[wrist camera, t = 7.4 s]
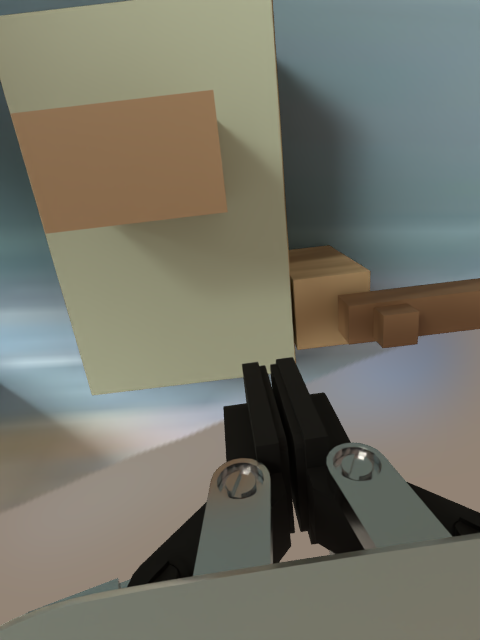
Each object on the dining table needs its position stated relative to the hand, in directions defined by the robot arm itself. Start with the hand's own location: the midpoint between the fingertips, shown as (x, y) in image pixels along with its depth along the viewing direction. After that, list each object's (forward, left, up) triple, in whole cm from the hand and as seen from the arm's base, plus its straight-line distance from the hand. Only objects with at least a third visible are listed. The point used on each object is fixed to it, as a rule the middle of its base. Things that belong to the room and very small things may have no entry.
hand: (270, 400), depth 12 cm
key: (0, +10, -8) cm, 12 cm away
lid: (-5, -4, -11) cm, 12 cm away
